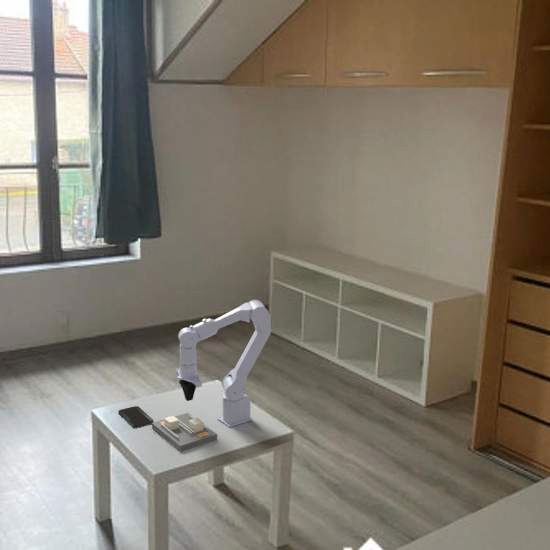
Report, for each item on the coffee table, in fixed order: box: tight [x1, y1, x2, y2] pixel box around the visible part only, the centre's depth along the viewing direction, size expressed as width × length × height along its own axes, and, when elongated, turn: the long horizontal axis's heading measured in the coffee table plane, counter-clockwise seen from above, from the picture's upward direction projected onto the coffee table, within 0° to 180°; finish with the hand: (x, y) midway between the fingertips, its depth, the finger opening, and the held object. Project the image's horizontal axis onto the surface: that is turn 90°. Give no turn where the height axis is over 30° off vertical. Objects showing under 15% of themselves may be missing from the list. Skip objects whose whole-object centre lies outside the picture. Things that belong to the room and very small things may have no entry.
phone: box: [118, 405, 154, 429], centre depth 258 cm, size 8×1×15 cm
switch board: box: [151, 412, 218, 452], centre depth 245 cm, size 14×20×3 cm
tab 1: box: [163, 415, 179, 430], centre depth 246 cm, size 4×4×3 cm
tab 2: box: [189, 417, 205, 433], centre depth 244 cm, size 4×4×3 cm
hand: (189, 399), depth 250 cm, fingers closed
